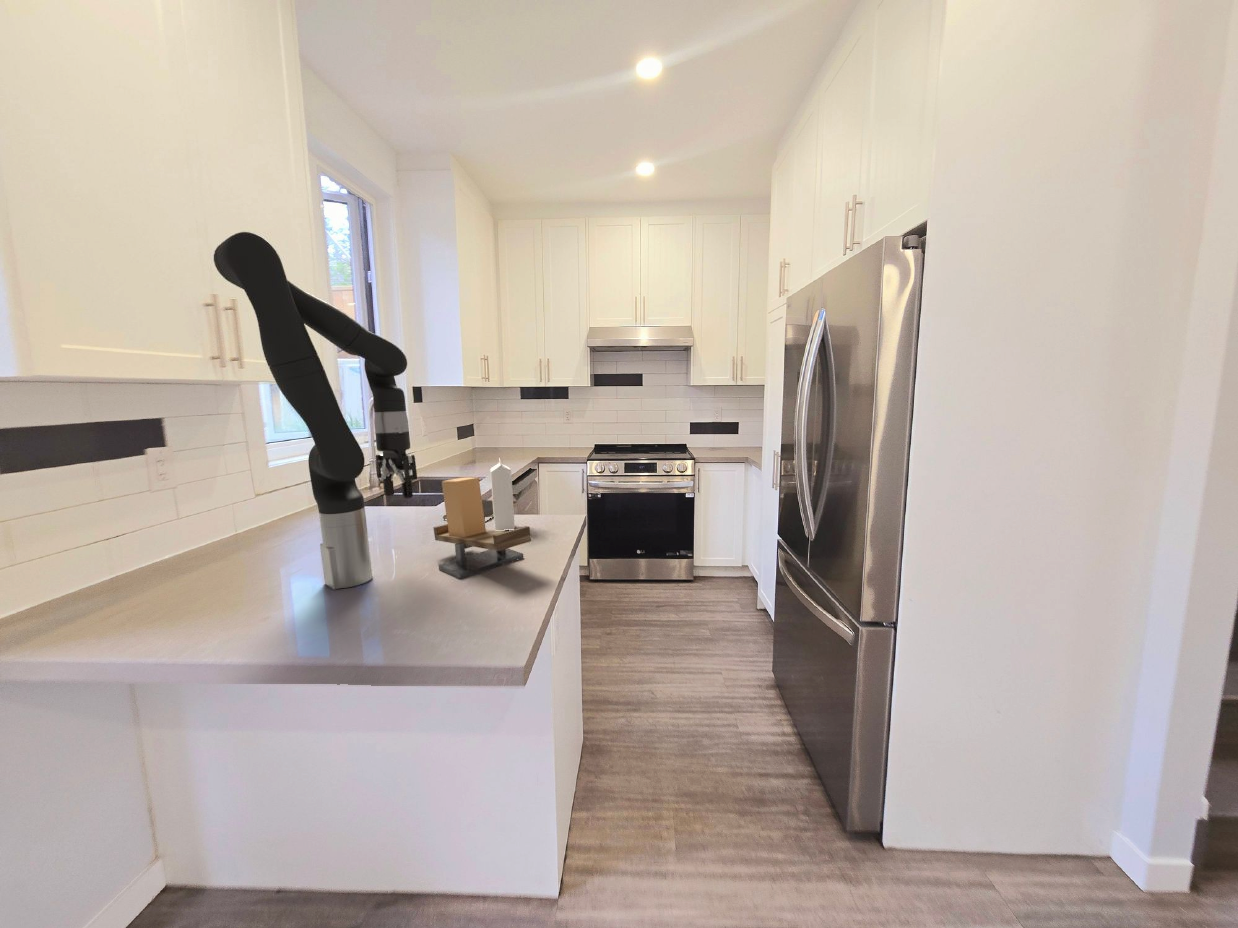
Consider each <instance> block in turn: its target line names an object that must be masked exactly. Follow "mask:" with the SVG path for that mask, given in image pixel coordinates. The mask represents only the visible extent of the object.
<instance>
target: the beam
mask: <svg viewBox="0 0 1238 928" xmlns="http://www.w3.org/2000/svg"><path fill="white" fill-rule="evenodd" d="M432 528H433V534H434V540H435V541H438V542H443V543H448V544H449V543H451V544H454V545H455V544H457V543H461V544H464V545H465V550H466V549H469V548H480V549H484V550H496V551H501V550H504V549H507V548H508V549H511V548H514V547H517V546H520V545H524V544H526V543H527V544H528V543H530V542H532V536H531V529H530V528H531V527H530V526H529V525H528V526H527V525H524V526H521V527H518V528H515V529H514V530H510V531H495V529H494V530H493V529H486V532H482V533H478V534H475V535H471V536H467V537H461V536H454V535H449V531H448V523H445V524H442V525H438V526H434V527H432Z"/></svg>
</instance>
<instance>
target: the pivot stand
mask: <svg viewBox="0 0 1238 928" xmlns="http://www.w3.org/2000/svg"><path fill="white" fill-rule="evenodd" d="M454 549H455V551H454V553H455V559H453V560H450V561H447V562H444V563H443V562H442V563H440V564H438V570H439V571H442V572H444V573H446V574H448V575H450V576H452V577H455V578H457V579H459V580H461V579H465V578H467V577H471V576H473V575H476V574H480V573H482V572H483V573H484V572H485V571H489V570H492V569H496V568H498V567H501V566H504V565H508V564H510V563H512V561H513V562H516V561H518V560H517V559H519V560H522V559H524V553H522V552H519V551H516V550H513V549H511V548H507V549H504V550H501V551H496V550H490V549H485V550H484V551H480V552H477V553H473V554H470V555H467V556H466V549H465V545H464V544H461V543H457V544H454ZM503 564H504V565H503Z"/></svg>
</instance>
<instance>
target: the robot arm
mask: <svg viewBox="0 0 1238 928" xmlns="http://www.w3.org/2000/svg"><path fill="white" fill-rule="evenodd" d="M213 262H214V267H215V268H216V270H217V272H218V273H219V274H220V276H222V278H223V279H225V280H226V281H227V282H229V283H230V284H232V285H234V286H236V287H237V288H239V289H242V290H244V293H245V295H246V297H247V298H248V300H249V302H250V304H251V306H252V308H253V310H254V314H255V317H256V320H257V324H258V331H259V337H260V338H259V339H260V343H261V348H262V352H263V355H264V356H263V357H264V358H265V362H266V364H267V365H268V368H269V370H270V373H271V374H272V377H273V379H274V381H275V383H276V385H277V387H278V389H279V390H280V392H281V393H282V395H283V396H284V398H285V399H286V401H287V402H288V404H289V405H290V406H291V407H292V408H293V409H294V411H295V412H296V413H297V414H298V415H299V417H300V418H301V419H302V420H303V422H304V424H305V425H306V426H307V429H308V430H309V432H310V433H309V434H310V435H311V438H312V440H313V442H314V445H313V446H312V448H311V449H310V451H309V454H308V459H307V460H308V469H309V470H308V471H309V476H310V483H311V490H312V494H313V498H314V500H315V503H316V505H317V508H318V509H317V510H318V516H319V523H320V532H321V541H322V543H321V542H320V545H319V547H320V554H321V555H320V556H321V563H322V570H323V578H324V579H323V580H324V584H325V585H326V586H327V587H329V588H331V589H332V590H337V589H345V588H352V587H355V586H360V585H362V584H365V583H368V582H369V581H370V580H371V579H373V569H372V561H371V559H372V558H371V552H370V541H369V533H368V525H367V524H368V523H367V518H366V517H367V514H366V505H365V499H364V495H363V494H362V492H361V491H360V489H359V488H358V486H357V482H356V479H357V478H359V476H360V475H361V474H362V472H363V470H364V467H365V463H366V462H365V454H364V452H363V449H362V448H361V446H360V444H359V442H358V441H357V439H356V437H355V436H354V434H353V432H352V431H351V429H350V427H349V425H348V423H347V421H346V419H345V417H344V415H343V413H342V409H341V408H340V405H339V403H338V400H337V398H336V395H335V393H334V390H333V388H332V385H331V383H330V381H329V378H328V376H327V373H326V370H325V368H324V365H323V364H322V361H321V359H320V356H319V355H318V352H317V349H316V348H315V345H314V343H313V341H312V338H311V337H310V334H309V332H308V330H307V327H309V328H310V329H312V330H313V331H315V332H316V333H317V334H319V335H320V336H322V337H323V338H325V339H326V340H327V341H328V342H330V343H331V344H333V345H334V346H336V347H337V348H339V349H340V350H342V351H343V352H344V353H346V354H349V355H352V356H357V357H360V358H362V359H364V362H363V363H364V366H363V367H364V372H365V375H366V376H365V377H366V379H367V383H368V386H369V389H370V391H371V393H372V400H373V401H372V402H373V412H374V414H373V415H374V417H373V418H374V421H373V422H374V424H373V425H374V435H375V443H376V450H377V452H382V453H378V454H375V466H376V477H377V478H378V479H380V480H381V482H382V485H383V495H384V496H386V497H388V496H389V497H391V496H393V495H395V488H394V481H393V479H394V476H395V475H396V477H399V479H400V481H401V493H402V498H403V499H411V498H413V497H414V496H413V494H414V493H413V484H412V483H413V482H414V481H415V480H417V479H418V473H417V464H416V457H415V454H407V451H408V450H410V449H411V437H410V436H411V435H410V428H409V427H410V426H409V425H410V424H409V419H408V415H407V408H406V407H407V405H406V396H405V392H404V390H403V389H402V388H401V387H398V385H397V382H396V378H395V377H396V376H400V375H402V374H403V373H404V372H405V371H406V370H407V368H408V359H407V356H406V354H405V353H404V352H403V351H402V350H401V349H400V348H399V347H398V345H396V344H394V343H393V342H391V341H389V340H387V339H385V338H384V337H382V336H380V335H378V334H376V333H373V332H372V331H369V330H368V329H366V328H365V327H364V326H363V325H361V324H360V323H359V322H357V321H356V320H355V319H354V318H352V317H351V316H350V315H348V314H347V313H345V312H344V311H342V310H341V309H339V308H337V307H336V306H334V305H333V304H330V303H329V302H326V301H325V300H323V299H321V298H319V297H317V296H315V295H313V294H311V293H309V292H307V291H306V290H304V289H303V288H301V287H299V286H298V285H296V284H295V283H293V282H291V281H290V280H289V279H288V278H287V275H286V272H285V268H284V265H283V262H282V259H281V257H280V255H279V253H278V251H277V250H276V248H275V247H274V245H272V243H270V242H269V241H268V240H267V239H266V238H265V237H263V236H261V235H259V234H257V233H255V232H250V231H241V232H237V233H234V234H232V235H230V236H229V237H228V238H226V239H225V240H223V241H222V242H221V243H220V244H219V245H218V246H217V247H216V248H215V249H214V253H213ZM306 326H307V327H306Z"/></svg>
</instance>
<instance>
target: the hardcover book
mask: <svg viewBox="0 0 1238 928" xmlns="http://www.w3.org/2000/svg"><path fill="white" fill-rule="evenodd" d="M517 503H518V501H517V500H516V501H515V500H513V508H515V507H517V506H518V505H517ZM482 506H483V513H484V520H485V517H494V514H493V500H492V499H487V500H486V499H482ZM443 519H447V516H446V514H444V515H443V517H442V520H443Z"/></svg>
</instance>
